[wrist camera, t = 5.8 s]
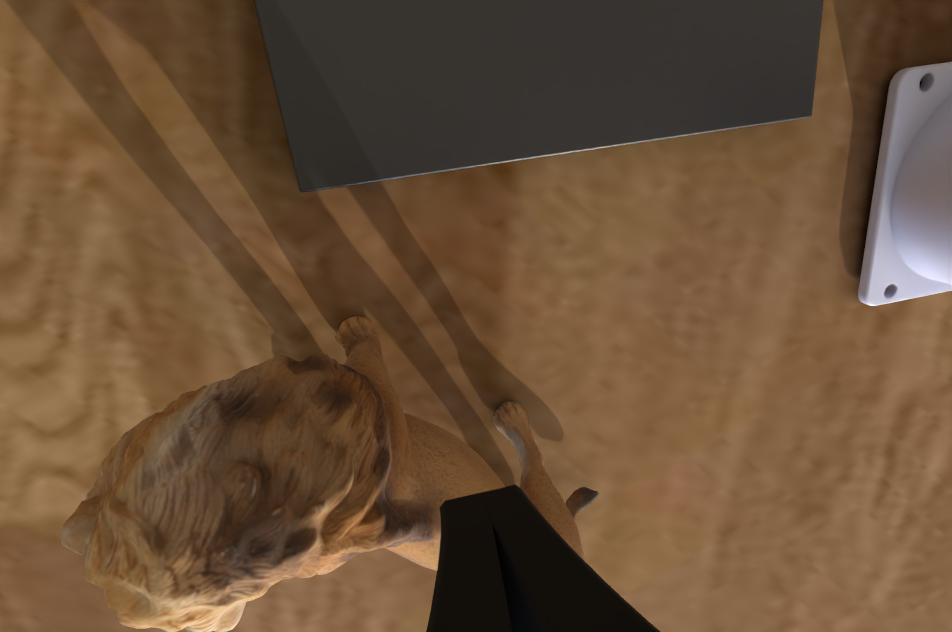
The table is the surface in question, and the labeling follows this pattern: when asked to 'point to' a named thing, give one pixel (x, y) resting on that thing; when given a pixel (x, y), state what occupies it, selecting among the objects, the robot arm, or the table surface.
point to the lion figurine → (282, 487)
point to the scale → (524, 78)
